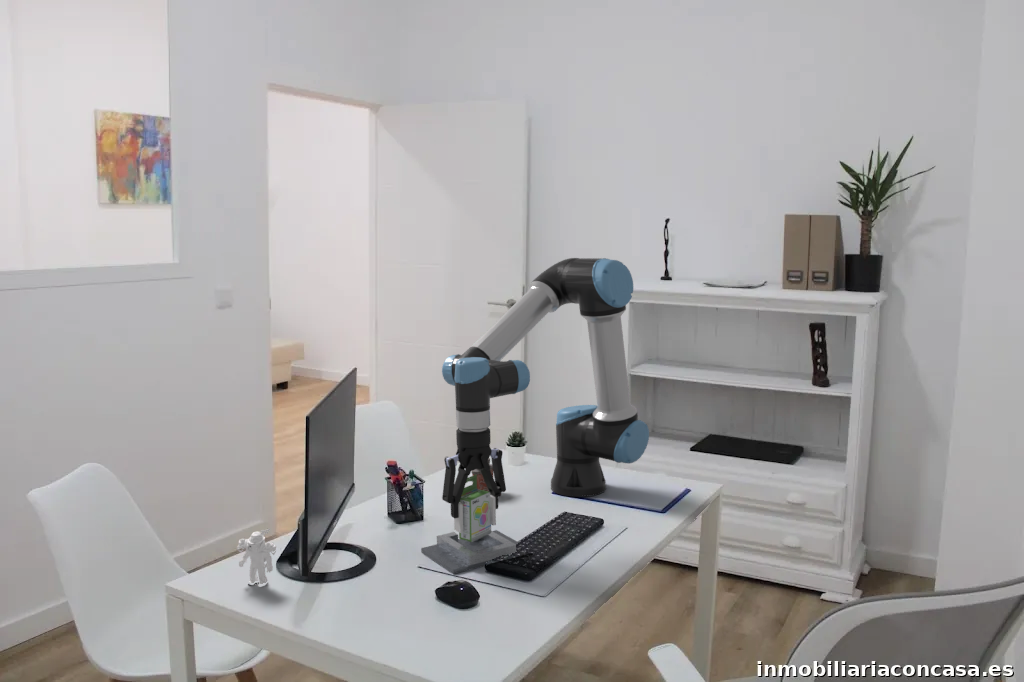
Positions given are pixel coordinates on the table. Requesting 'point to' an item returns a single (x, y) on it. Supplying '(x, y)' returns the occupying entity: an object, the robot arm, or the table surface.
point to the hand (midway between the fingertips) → (475, 527)
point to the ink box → (475, 512)
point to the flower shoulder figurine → (257, 555)
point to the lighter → (480, 480)
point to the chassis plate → (455, 561)
